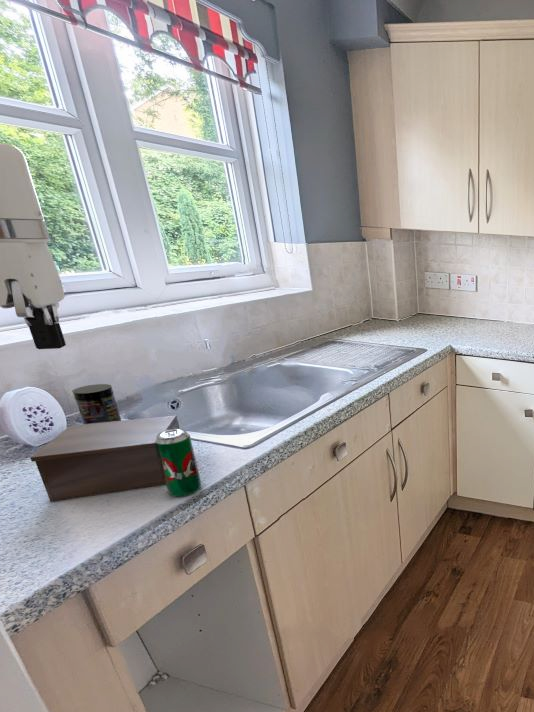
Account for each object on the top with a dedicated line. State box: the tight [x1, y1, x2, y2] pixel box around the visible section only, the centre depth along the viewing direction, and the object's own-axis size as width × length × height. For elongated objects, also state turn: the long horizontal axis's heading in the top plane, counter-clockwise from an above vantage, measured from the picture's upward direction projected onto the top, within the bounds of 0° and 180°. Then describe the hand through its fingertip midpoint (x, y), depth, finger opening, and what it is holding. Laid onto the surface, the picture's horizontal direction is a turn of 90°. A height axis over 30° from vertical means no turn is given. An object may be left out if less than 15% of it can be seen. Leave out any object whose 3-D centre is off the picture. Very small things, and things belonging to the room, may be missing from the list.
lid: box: [30, 414, 178, 462], centre depth 87 cm, size 15×17×1 cm
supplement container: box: [71, 383, 122, 424], centre depth 106 cm, size 7×7×10 cm
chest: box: [34, 418, 181, 502], centre depth 89 cm, size 14×17×8 cm
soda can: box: [155, 428, 202, 498], centre depth 83 cm, size 5×5×12 cm
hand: (51, 347), depth 76 cm, fingers closed
